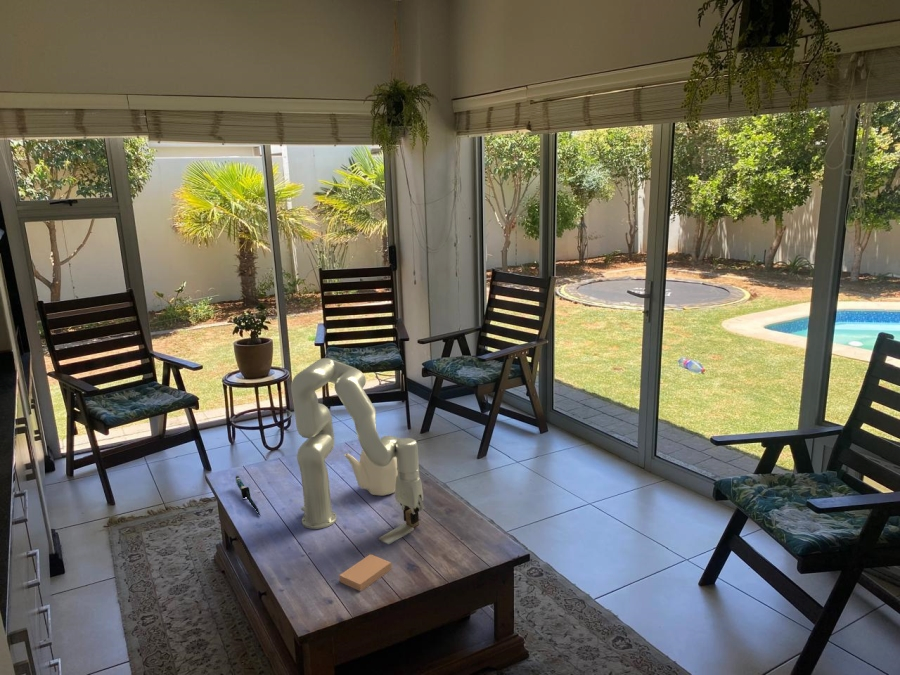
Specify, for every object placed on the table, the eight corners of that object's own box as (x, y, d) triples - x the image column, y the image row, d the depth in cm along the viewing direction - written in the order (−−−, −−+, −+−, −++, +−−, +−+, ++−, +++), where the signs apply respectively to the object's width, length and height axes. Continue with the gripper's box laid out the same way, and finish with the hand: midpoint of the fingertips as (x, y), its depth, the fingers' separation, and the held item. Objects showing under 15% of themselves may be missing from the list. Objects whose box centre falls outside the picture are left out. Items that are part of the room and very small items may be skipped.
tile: (370, 561, 220) (340, 583, 209) (370, 554, 220) (339, 575, 209) (391, 570, 215) (360, 592, 204) (391, 562, 214) (360, 584, 203)
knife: (235, 485, 276) (234, 475, 275) (243, 483, 278) (242, 473, 276) (254, 523, 251) (252, 513, 250) (262, 521, 253) (261, 511, 251)
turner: (378, 540, 233) (377, 524, 231) (412, 520, 244) (410, 505, 242) (388, 544, 229) (387, 529, 228) (421, 525, 241) (420, 510, 239)
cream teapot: (341, 491, 270) (337, 447, 265) (402, 475, 281) (399, 433, 277) (354, 507, 256) (351, 461, 252) (418, 490, 268) (415, 445, 264)
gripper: (384, 471, 238) (387, 518, 243) (417, 483, 228) (420, 532, 232) (399, 464, 244) (402, 510, 248) (432, 475, 233) (435, 523, 237)
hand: (411, 520), depth 240 cm, fingers open, 3 cm apart
